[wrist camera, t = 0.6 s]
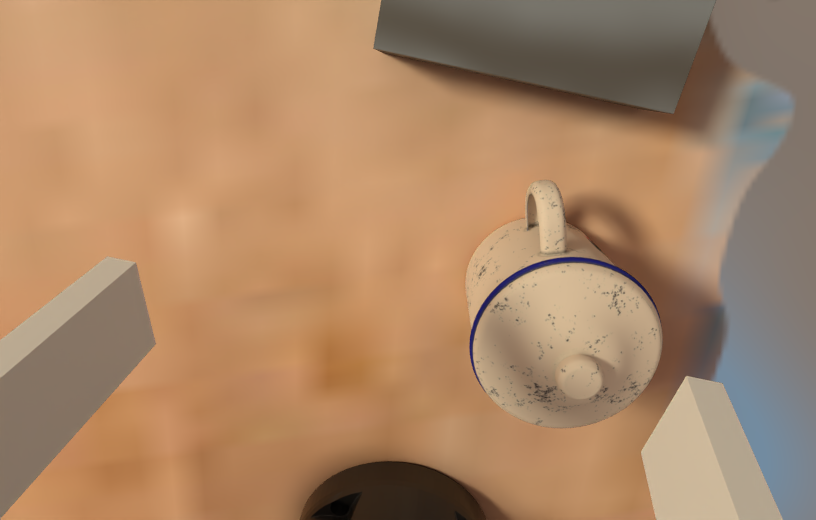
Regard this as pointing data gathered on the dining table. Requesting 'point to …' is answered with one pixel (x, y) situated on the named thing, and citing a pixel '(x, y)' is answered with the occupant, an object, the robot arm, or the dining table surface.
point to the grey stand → (557, 43)
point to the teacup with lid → (557, 320)
